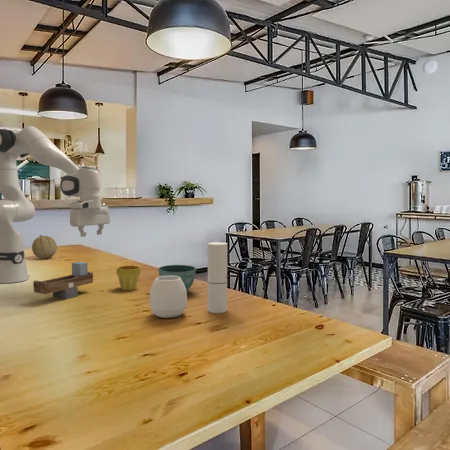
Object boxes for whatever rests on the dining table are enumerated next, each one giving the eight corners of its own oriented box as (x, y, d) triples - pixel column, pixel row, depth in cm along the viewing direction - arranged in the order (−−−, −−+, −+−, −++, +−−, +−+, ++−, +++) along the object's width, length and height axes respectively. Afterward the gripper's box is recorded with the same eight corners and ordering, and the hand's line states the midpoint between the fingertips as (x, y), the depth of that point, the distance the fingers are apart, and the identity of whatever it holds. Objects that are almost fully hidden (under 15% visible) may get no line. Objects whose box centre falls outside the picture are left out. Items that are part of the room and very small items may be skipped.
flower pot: (203, 292, 182) (203, 268, 181) (175, 299, 171) (175, 273, 170) (179, 286, 193) (179, 263, 192) (150, 292, 182) (150, 268, 181)
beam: (33, 301, 166) (32, 280, 165) (80, 289, 186) (80, 270, 186) (46, 304, 162) (46, 283, 161) (94, 291, 183) (93, 272, 182)
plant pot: (134, 292, 183) (134, 269, 182) (112, 290, 185) (112, 268, 184) (144, 286, 193) (144, 265, 192) (123, 285, 195) (122, 264, 194)
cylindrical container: (229, 308, 158) (230, 242, 156) (223, 313, 152) (223, 245, 150) (211, 306, 161) (212, 241, 159) (204, 311, 154) (205, 244, 152)
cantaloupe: (51, 260, 259) (50, 236, 258) (27, 260, 259) (26, 236, 258) (61, 257, 274) (60, 234, 273) (38, 256, 274) (37, 233, 273)
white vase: (156, 322, 141) (156, 283, 140) (144, 312, 153) (144, 276, 152) (192, 317, 147) (192, 279, 146) (179, 308, 159) (178, 272, 158)
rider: (72, 278, 180) (71, 263, 179) (79, 276, 183) (79, 261, 183) (80, 279, 178) (80, 264, 177) (87, 277, 181) (87, 262, 180)
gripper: (102, 203, 195) (103, 233, 196) (66, 204, 177) (67, 237, 178) (112, 203, 191) (113, 233, 193) (77, 204, 174) (78, 238, 175)
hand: (91, 235), depth 185 cm, fingers open, 8 cm apart
